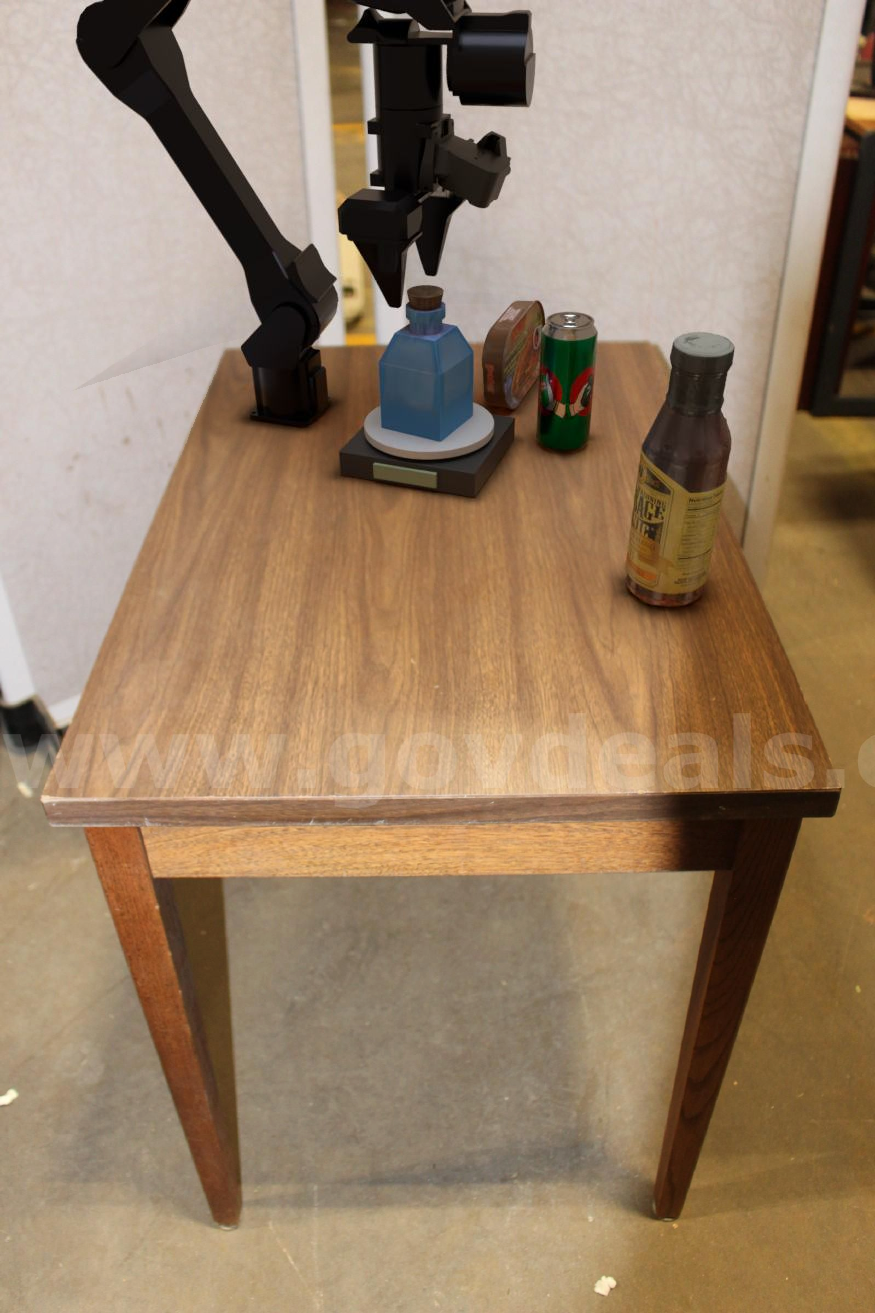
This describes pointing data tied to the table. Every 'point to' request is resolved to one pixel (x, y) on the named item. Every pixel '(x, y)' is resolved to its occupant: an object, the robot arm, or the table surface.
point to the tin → (512, 354)
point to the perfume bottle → (426, 371)
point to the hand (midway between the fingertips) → (413, 290)
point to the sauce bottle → (682, 476)
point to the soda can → (566, 381)
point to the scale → (430, 454)
